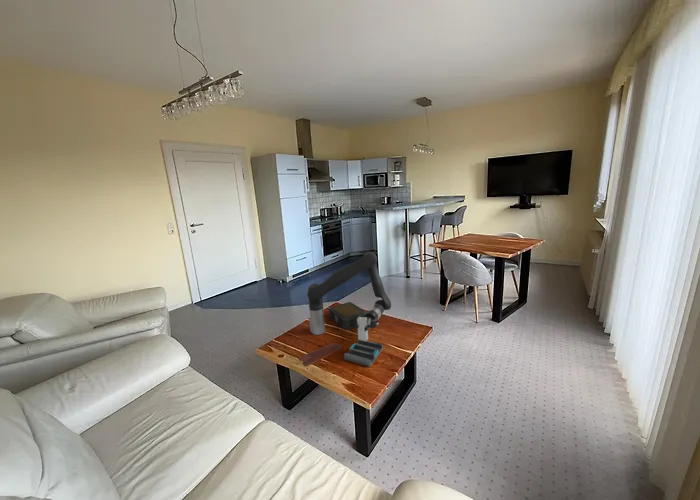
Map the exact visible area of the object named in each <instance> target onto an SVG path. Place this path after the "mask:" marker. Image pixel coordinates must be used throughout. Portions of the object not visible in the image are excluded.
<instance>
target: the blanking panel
mask: <svg viewBox="0 0 700 500" xmlns="http://www.w3.org/2000/svg"><path fill="white" fill-rule="evenodd" d="M357 324H358V329H357V337H358V338H357V340H358V339H359V340H363V341H369V329H368V330H367V331H364V328H365V327H366V326H367V318H363V317H358V318H357Z"/></svg>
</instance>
